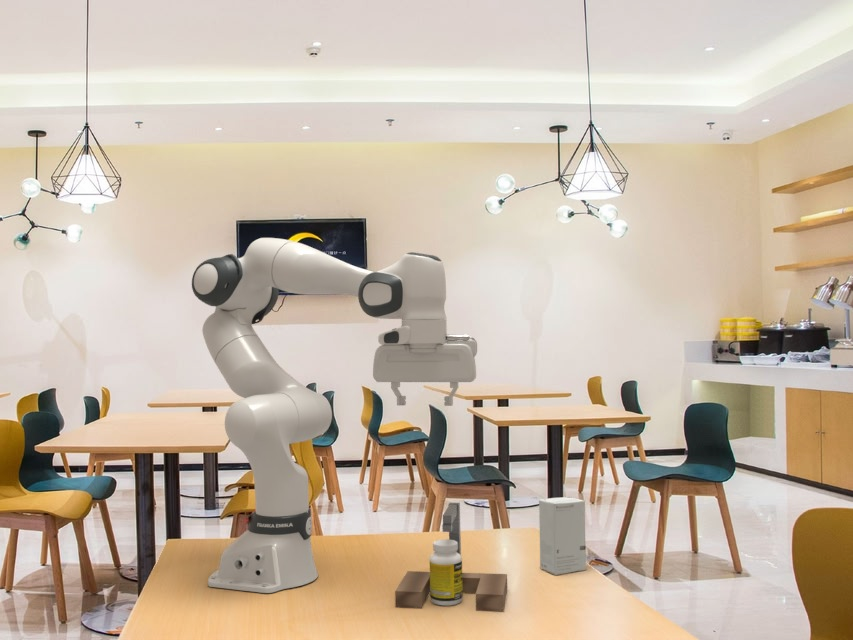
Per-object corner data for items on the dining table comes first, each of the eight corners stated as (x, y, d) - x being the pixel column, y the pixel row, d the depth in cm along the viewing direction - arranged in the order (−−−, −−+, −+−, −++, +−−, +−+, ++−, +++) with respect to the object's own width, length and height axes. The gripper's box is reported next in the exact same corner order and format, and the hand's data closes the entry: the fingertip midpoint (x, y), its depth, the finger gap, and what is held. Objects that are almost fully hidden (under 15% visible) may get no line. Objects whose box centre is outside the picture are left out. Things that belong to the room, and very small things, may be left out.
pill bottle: (460, 607, 139) (458, 547, 139) (427, 605, 140) (426, 546, 140) (465, 596, 145) (463, 538, 145) (433, 594, 146) (432, 537, 146)
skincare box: (554, 576, 156) (553, 504, 156) (538, 568, 161) (536, 498, 161) (588, 570, 159) (586, 499, 159) (571, 562, 165) (569, 494, 165)
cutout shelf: (395, 607, 140) (395, 591, 140) (407, 586, 151) (407, 571, 151) (503, 611, 136) (503, 594, 136) (507, 589, 148) (507, 574, 148)
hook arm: (443, 609, 138) (441, 516, 138) (451, 588, 149) (449, 502, 150) (454, 610, 138) (451, 516, 138) (461, 588, 149) (459, 502, 149)
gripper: (478, 334, 149) (479, 404, 149) (378, 335, 152) (378, 403, 152) (475, 334, 143) (476, 407, 142) (370, 335, 146) (371, 406, 146)
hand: (424, 405), depth 147 cm, fingers open, 8 cm apart
